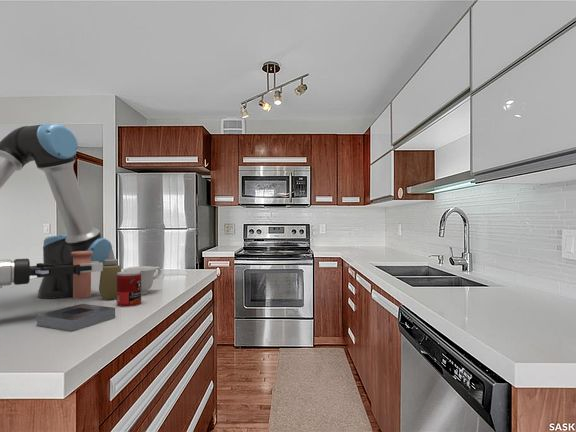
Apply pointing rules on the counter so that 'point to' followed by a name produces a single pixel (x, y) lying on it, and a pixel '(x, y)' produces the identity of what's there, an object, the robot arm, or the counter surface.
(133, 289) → the canned food
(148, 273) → the teacup
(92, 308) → the flange block
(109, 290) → the squeeze bottle
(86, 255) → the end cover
